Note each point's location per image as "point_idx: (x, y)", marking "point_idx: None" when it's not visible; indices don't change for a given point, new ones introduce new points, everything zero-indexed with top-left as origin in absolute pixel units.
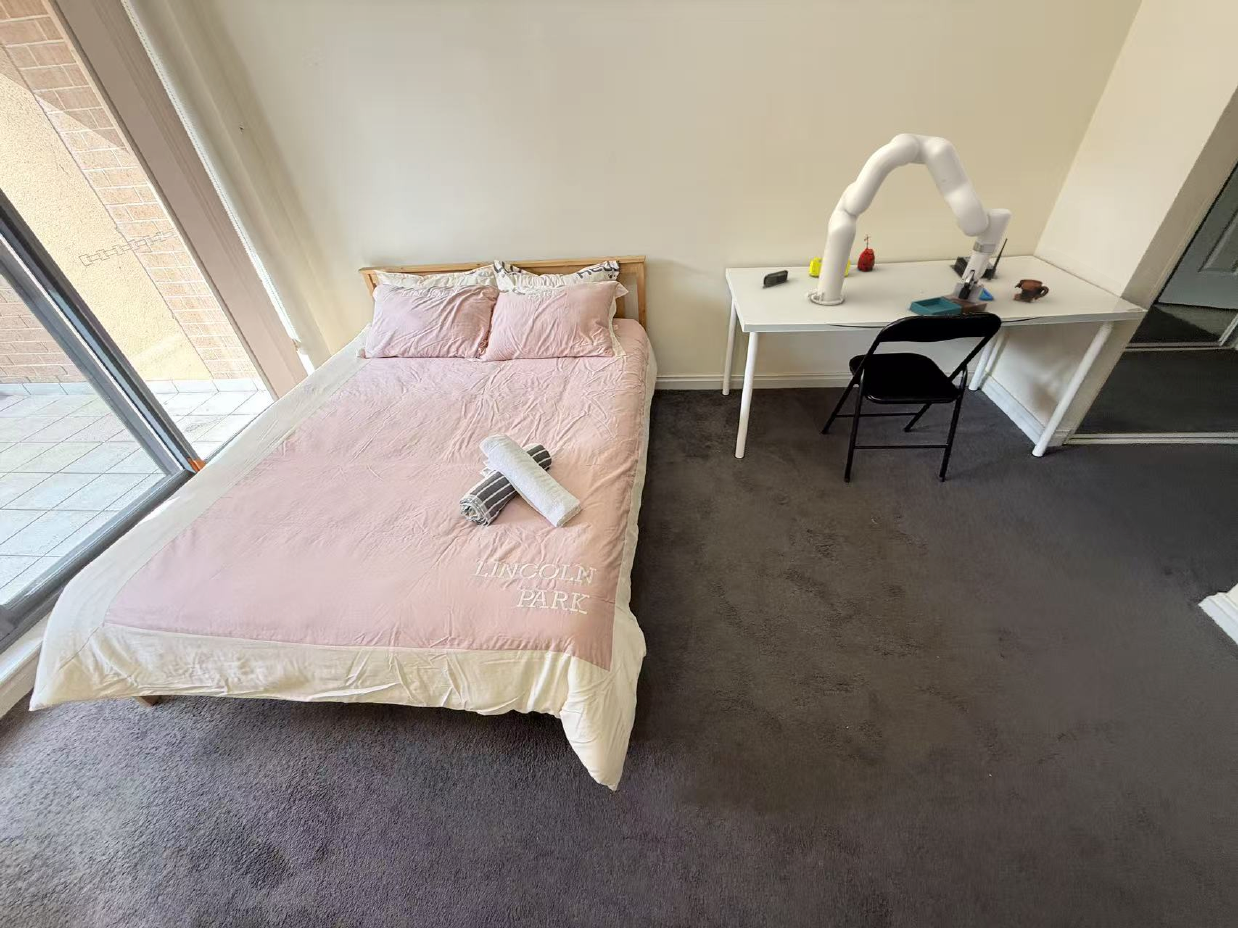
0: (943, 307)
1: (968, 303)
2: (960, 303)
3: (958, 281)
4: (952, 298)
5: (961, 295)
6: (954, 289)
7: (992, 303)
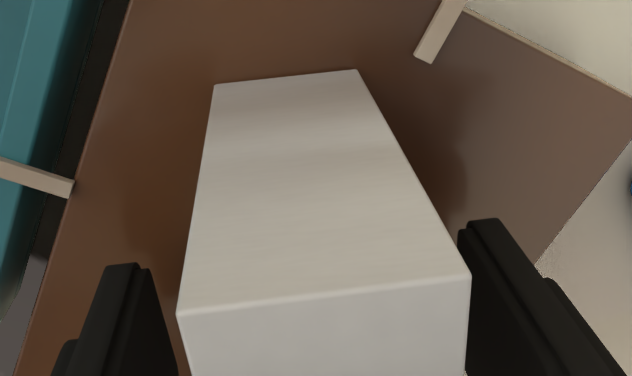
0: (6, 48)
1: (181, 362)
2: (82, 298)
3: (315, 307)
4: (206, 114)
5: (61, 365)
6: (201, 169)
7: (617, 354)
